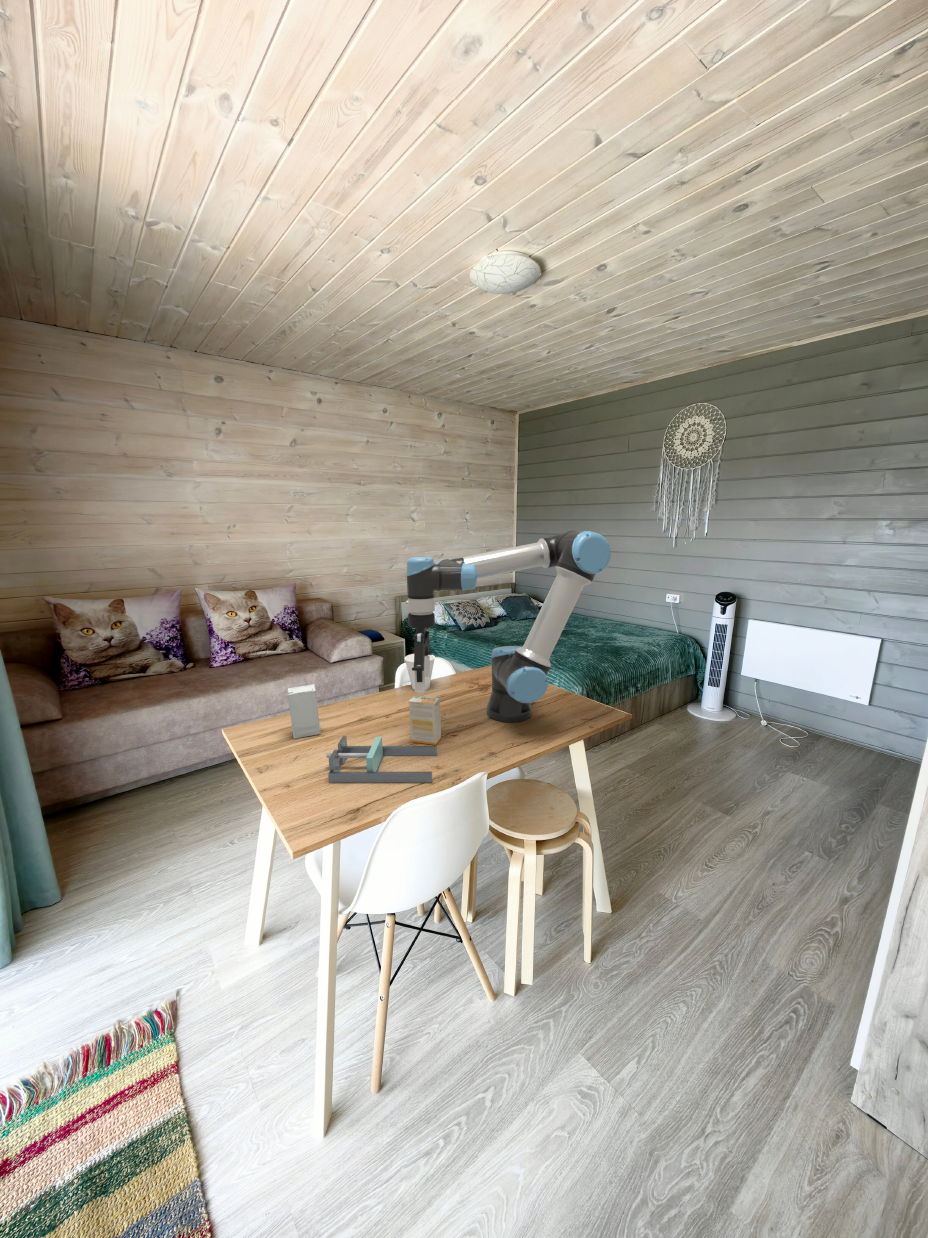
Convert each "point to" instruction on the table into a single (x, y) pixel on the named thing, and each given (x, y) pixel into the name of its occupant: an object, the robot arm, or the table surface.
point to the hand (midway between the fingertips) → (423, 684)
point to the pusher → (368, 755)
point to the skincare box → (303, 711)
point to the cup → (410, 665)
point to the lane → (378, 776)
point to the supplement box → (425, 720)
